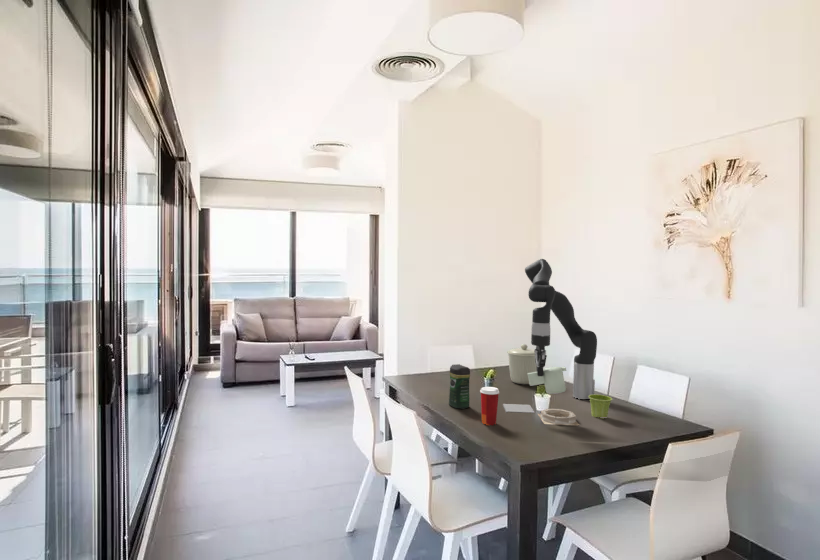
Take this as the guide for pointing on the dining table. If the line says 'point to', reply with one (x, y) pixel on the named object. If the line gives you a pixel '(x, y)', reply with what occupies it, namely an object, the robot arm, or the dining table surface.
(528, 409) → the coaster
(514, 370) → the canister
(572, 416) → the holder
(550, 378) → the pitcher
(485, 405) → the paper cup
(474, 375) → the dining table surface
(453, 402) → the coffee jar
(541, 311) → the robot arm
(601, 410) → the plant pot
